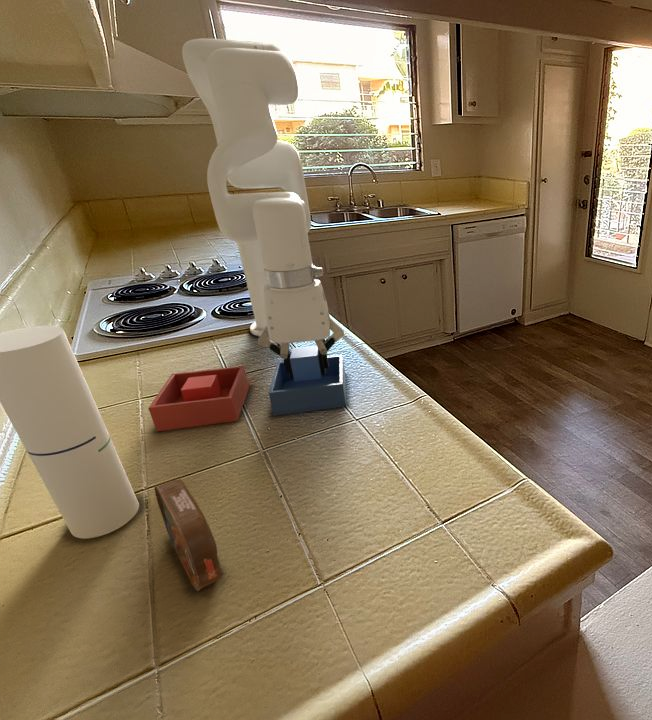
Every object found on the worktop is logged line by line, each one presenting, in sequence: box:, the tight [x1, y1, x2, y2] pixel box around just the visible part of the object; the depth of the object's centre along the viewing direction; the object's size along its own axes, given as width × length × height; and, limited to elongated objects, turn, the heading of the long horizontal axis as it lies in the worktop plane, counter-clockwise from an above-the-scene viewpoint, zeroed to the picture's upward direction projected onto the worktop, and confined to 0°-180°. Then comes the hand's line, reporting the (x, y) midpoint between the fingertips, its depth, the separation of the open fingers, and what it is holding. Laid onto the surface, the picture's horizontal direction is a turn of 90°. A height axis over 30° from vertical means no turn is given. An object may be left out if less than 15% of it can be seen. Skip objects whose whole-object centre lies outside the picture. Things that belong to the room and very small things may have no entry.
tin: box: [153, 478, 224, 592], centre depth 52 cm, size 15×3×8 cm, turn 45°
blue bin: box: [268, 354, 347, 417], centre depth 86 cm, size 12×12×5 cm
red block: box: [181, 375, 223, 402], centre depth 81 cm, size 5×5×5 cm
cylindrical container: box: [0, 324, 140, 539], centre depth 54 cm, size 7×7×25 cm
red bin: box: [147, 365, 250, 432], centre depth 82 cm, size 12×12×5 cm
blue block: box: [290, 345, 322, 382], centre depth 84 cm, size 5×5×5 cm
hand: (308, 372), depth 85 cm, fingers closed on blue block, 4 cm apart
